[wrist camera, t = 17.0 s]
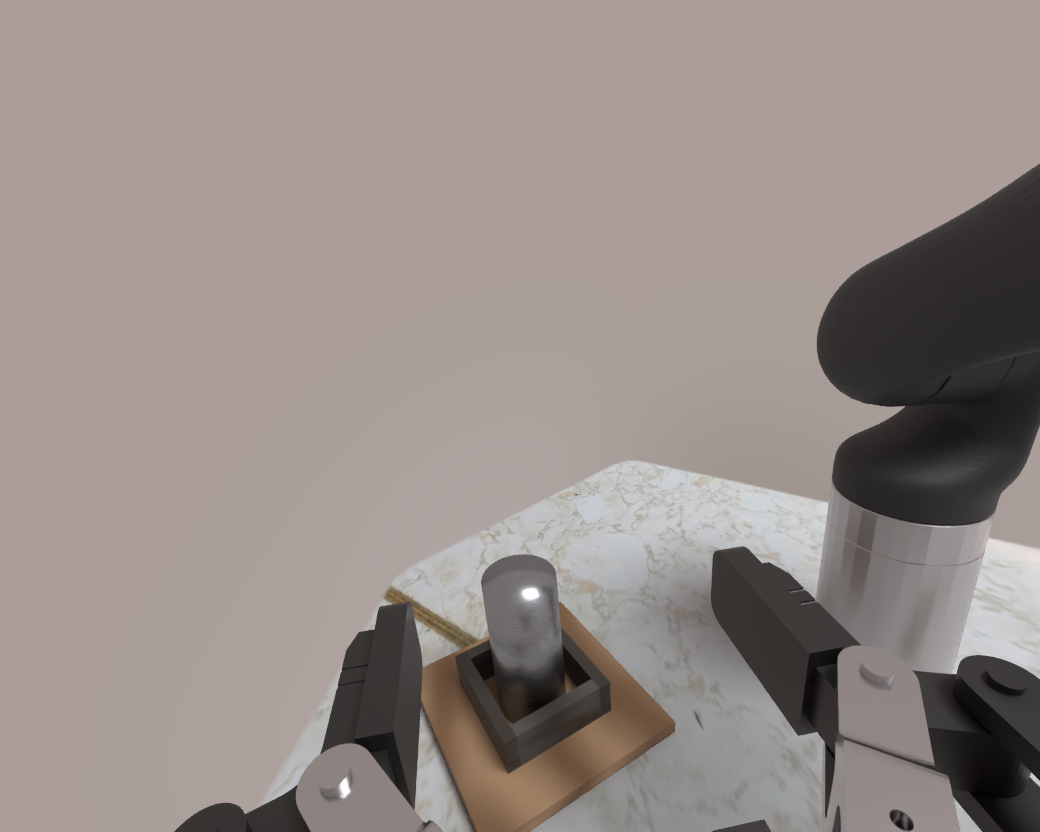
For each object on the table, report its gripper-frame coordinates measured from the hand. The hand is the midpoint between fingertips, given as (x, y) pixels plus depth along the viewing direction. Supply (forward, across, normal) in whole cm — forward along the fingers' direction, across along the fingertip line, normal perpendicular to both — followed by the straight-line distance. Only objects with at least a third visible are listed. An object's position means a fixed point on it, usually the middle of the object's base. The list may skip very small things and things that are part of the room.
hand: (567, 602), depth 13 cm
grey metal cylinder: (+20, 0, +27) cm, 34 cm away
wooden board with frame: (+21, 0, +28) cm, 35 cm away
